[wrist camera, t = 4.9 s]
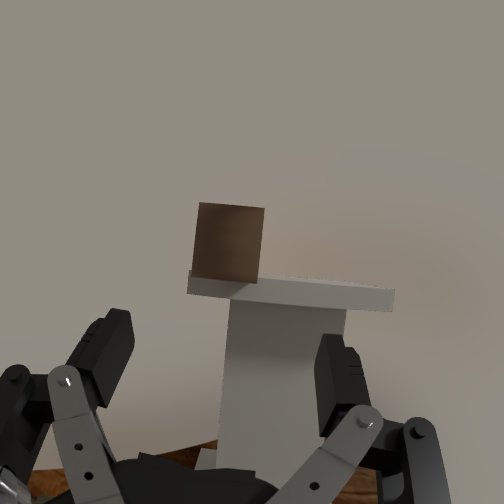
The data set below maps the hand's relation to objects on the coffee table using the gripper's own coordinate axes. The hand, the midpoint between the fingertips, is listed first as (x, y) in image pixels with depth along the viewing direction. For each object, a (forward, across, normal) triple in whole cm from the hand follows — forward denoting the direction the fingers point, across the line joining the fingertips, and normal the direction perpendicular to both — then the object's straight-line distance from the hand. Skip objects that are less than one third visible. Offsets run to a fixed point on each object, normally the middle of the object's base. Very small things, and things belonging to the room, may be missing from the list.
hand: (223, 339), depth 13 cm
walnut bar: (+15, -1, -6) cm, 17 cm away
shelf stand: (+6, +5, -35) cm, 36 cm away
